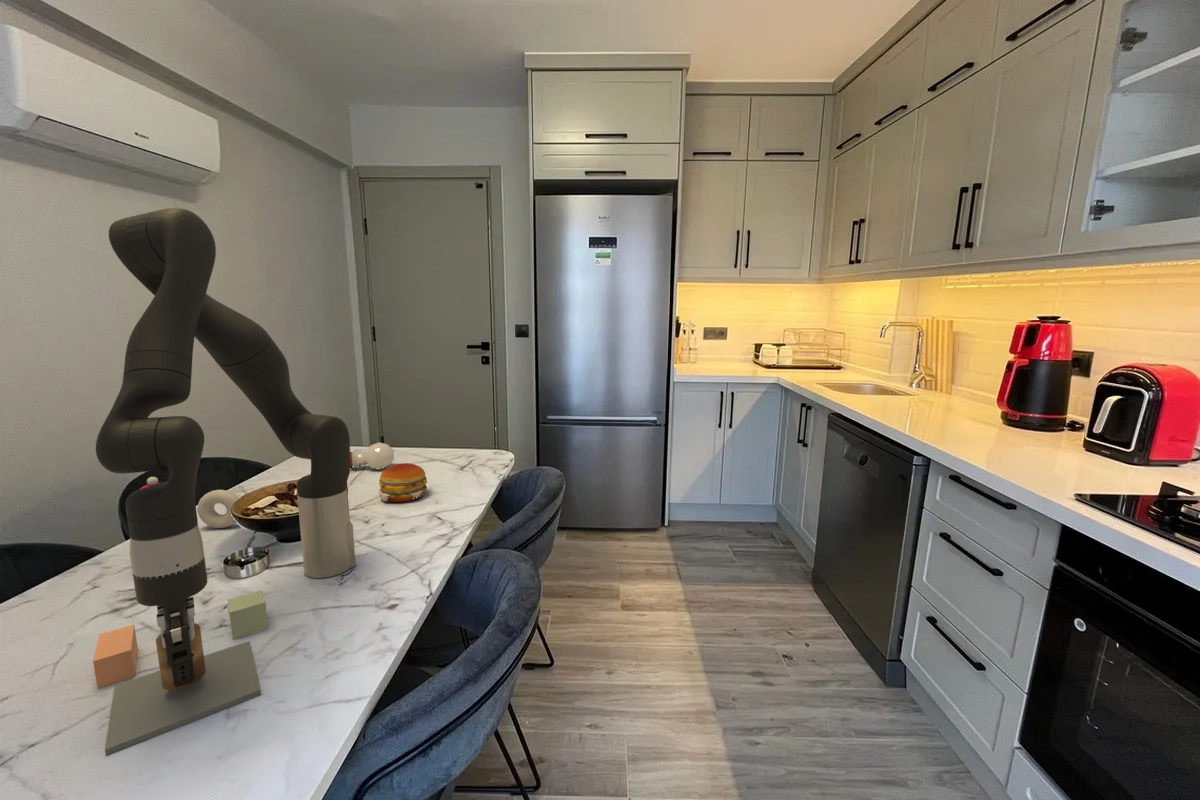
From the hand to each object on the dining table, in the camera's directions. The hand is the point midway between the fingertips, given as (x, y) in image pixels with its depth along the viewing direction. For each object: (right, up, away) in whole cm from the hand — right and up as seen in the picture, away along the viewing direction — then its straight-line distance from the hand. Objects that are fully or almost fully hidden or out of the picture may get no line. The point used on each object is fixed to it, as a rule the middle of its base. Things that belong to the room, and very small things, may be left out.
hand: (184, 672), depth 72 cm
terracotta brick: (-15, -2, +5) cm, 16 cm away
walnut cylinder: (0, -1, 0) cm, 1 cm away
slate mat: (0, -3, +1) cm, 3 cm away
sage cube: (-2, -1, +16) cm, 16 cm away
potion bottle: (-21, +14, +104) cm, 107 cm away
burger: (+1, +10, +78) cm, 79 cm away
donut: (-36, +6, +56) cm, 67 cm away
